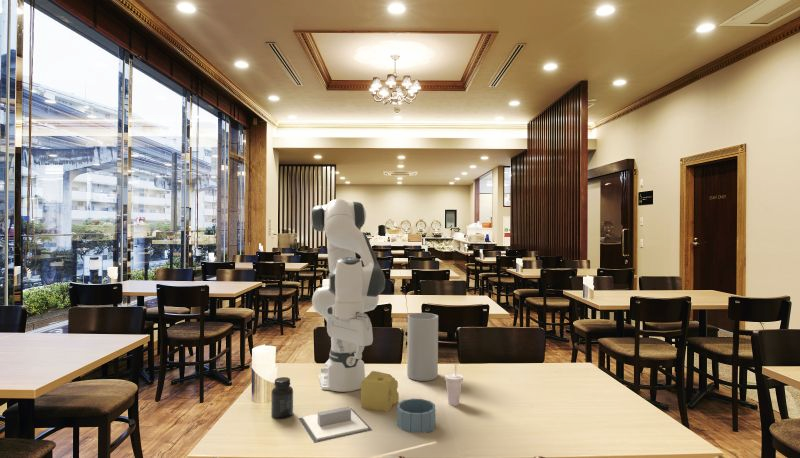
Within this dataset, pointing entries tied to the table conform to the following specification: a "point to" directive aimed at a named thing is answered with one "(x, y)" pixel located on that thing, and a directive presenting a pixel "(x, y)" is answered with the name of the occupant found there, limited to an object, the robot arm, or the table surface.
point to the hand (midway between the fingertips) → (349, 355)
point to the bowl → (416, 415)
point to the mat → (335, 436)
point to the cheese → (379, 391)
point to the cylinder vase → (422, 346)
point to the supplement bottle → (282, 399)
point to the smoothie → (453, 387)
